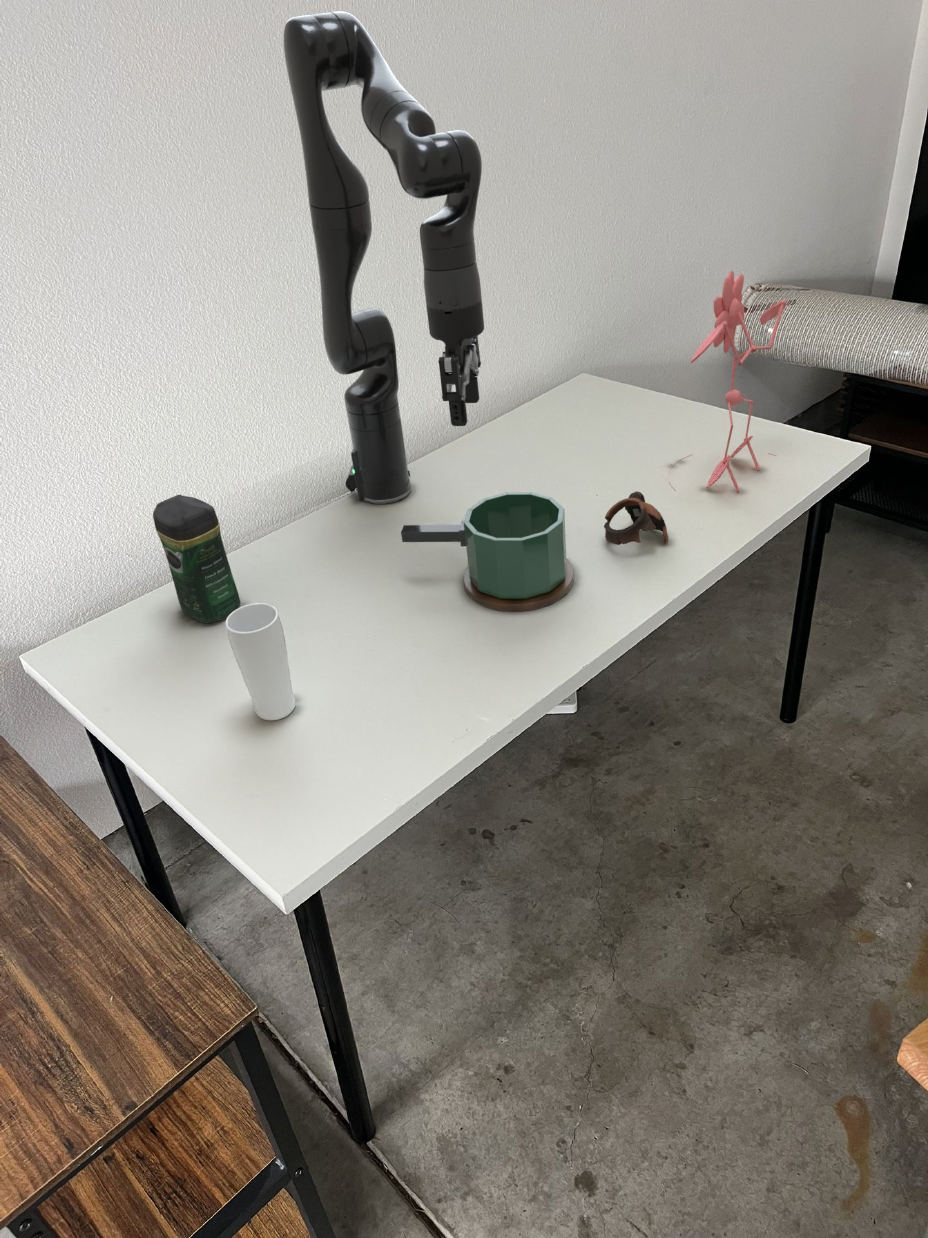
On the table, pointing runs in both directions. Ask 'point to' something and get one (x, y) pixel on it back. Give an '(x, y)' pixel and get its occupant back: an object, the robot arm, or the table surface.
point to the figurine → (728, 317)
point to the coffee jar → (196, 558)
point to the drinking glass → (262, 658)
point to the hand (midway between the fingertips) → (465, 413)
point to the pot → (507, 543)
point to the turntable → (520, 604)
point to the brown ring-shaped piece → (634, 520)
